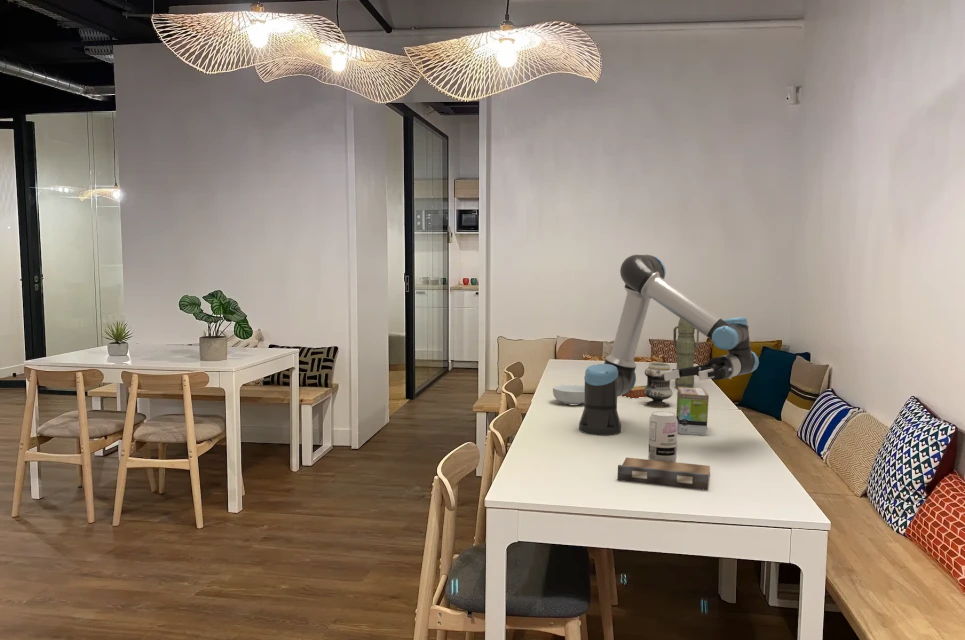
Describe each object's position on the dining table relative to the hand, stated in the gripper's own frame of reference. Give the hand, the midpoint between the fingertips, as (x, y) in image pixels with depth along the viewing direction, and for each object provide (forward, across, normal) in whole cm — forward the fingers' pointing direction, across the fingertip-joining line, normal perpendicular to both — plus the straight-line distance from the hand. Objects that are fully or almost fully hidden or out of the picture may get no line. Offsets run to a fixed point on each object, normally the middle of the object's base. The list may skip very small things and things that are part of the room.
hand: (681, 376), depth 222 cm
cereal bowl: (-26, +82, -15) cm, 88 cm away
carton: (-65, +79, -18) cm, 104 cm away
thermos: (-98, +80, -19) cm, 128 cm away
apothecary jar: (-54, +60, -20) cm, 83 cm away
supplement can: (+13, +1, -25) cm, 28 cm away
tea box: (-29, +23, -24) cm, 44 cm away
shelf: (+24, -9, -25) cm, 36 cm away
